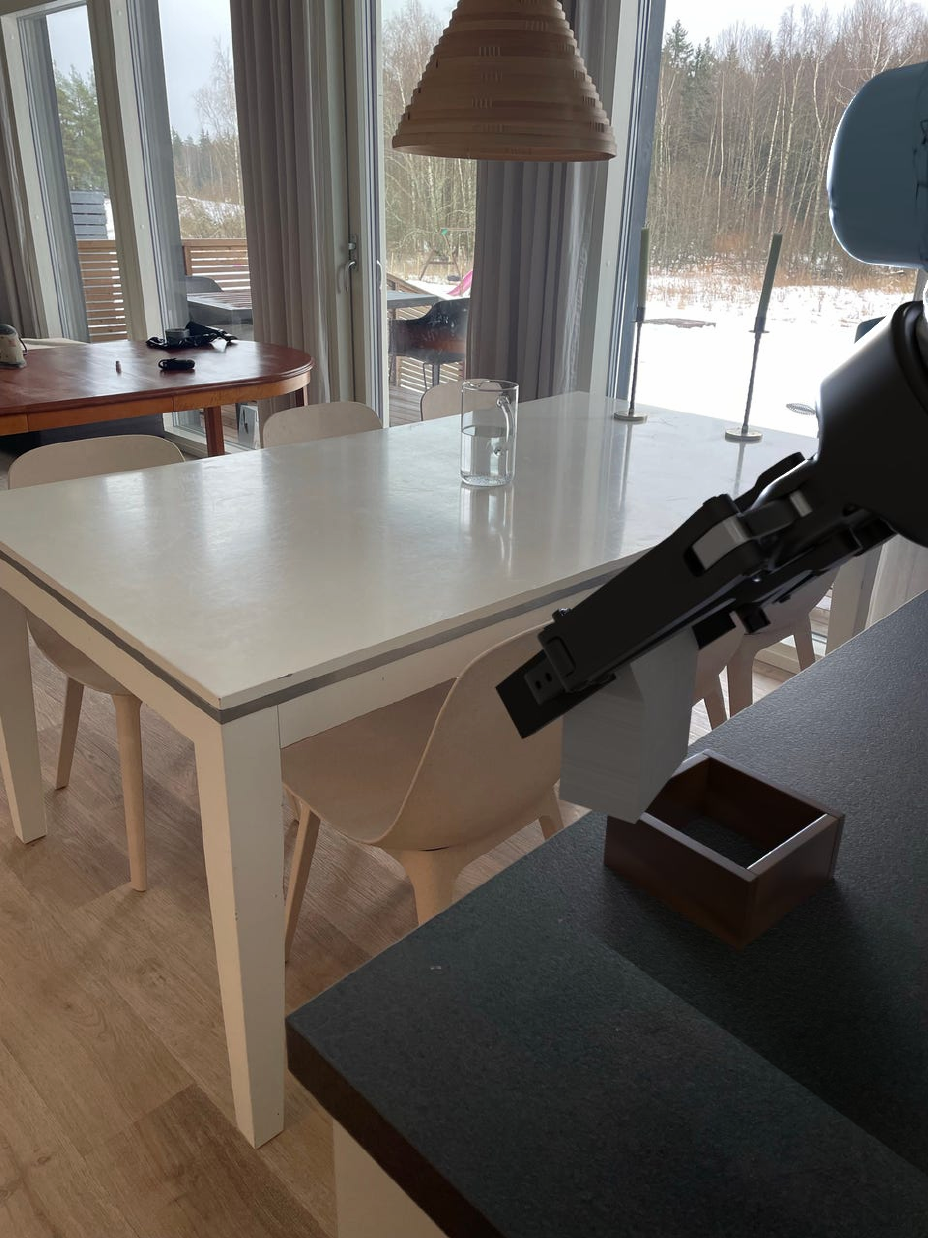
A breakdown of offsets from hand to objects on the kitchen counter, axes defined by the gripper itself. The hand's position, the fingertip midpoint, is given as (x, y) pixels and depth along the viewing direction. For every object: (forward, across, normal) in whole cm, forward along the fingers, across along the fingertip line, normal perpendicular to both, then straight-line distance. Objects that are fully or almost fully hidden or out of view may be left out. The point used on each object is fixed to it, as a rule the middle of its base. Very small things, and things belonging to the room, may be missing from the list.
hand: (576, 684), depth 45 cm
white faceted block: (0, 0, -5) cm, 5 cm away
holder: (+10, +10, -14) cm, 20 cm away
